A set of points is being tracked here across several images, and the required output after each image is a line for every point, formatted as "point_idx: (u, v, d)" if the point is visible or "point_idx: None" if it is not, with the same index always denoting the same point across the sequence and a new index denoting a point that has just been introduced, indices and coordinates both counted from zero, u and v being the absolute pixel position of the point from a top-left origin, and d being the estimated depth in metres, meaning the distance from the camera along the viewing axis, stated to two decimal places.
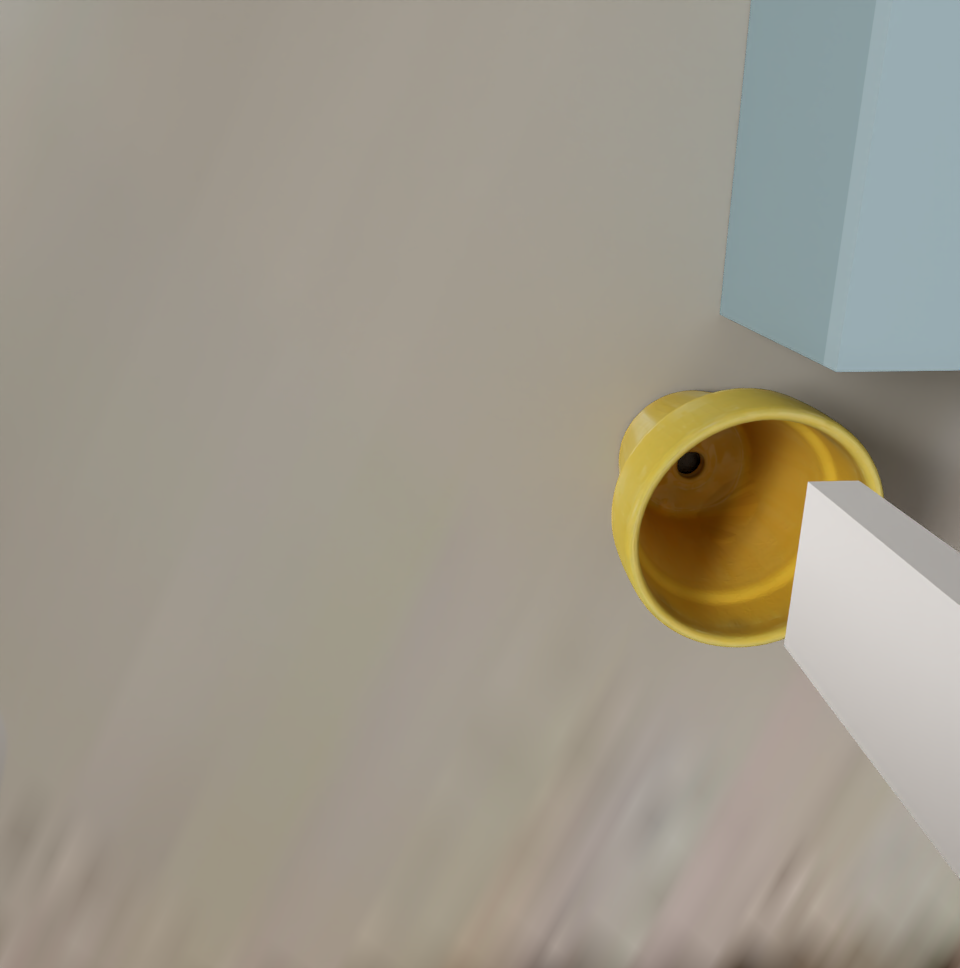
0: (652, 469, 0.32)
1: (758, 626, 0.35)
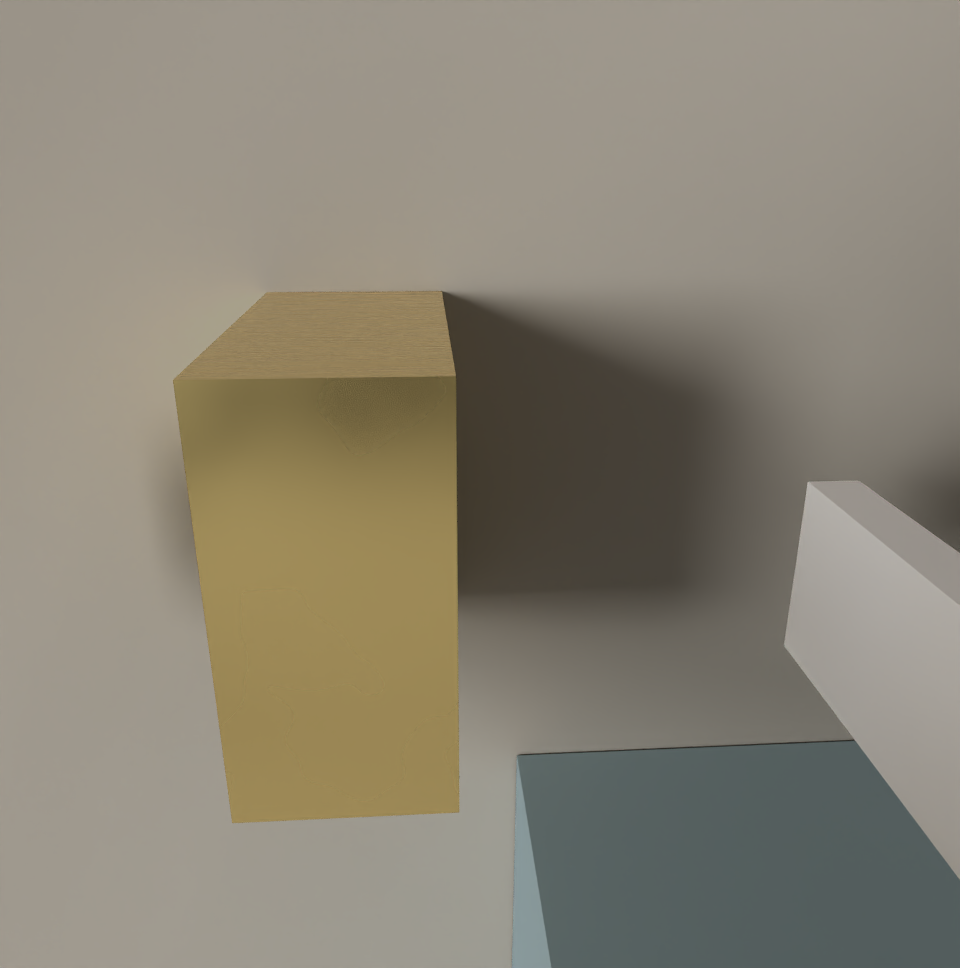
0: None
1: None
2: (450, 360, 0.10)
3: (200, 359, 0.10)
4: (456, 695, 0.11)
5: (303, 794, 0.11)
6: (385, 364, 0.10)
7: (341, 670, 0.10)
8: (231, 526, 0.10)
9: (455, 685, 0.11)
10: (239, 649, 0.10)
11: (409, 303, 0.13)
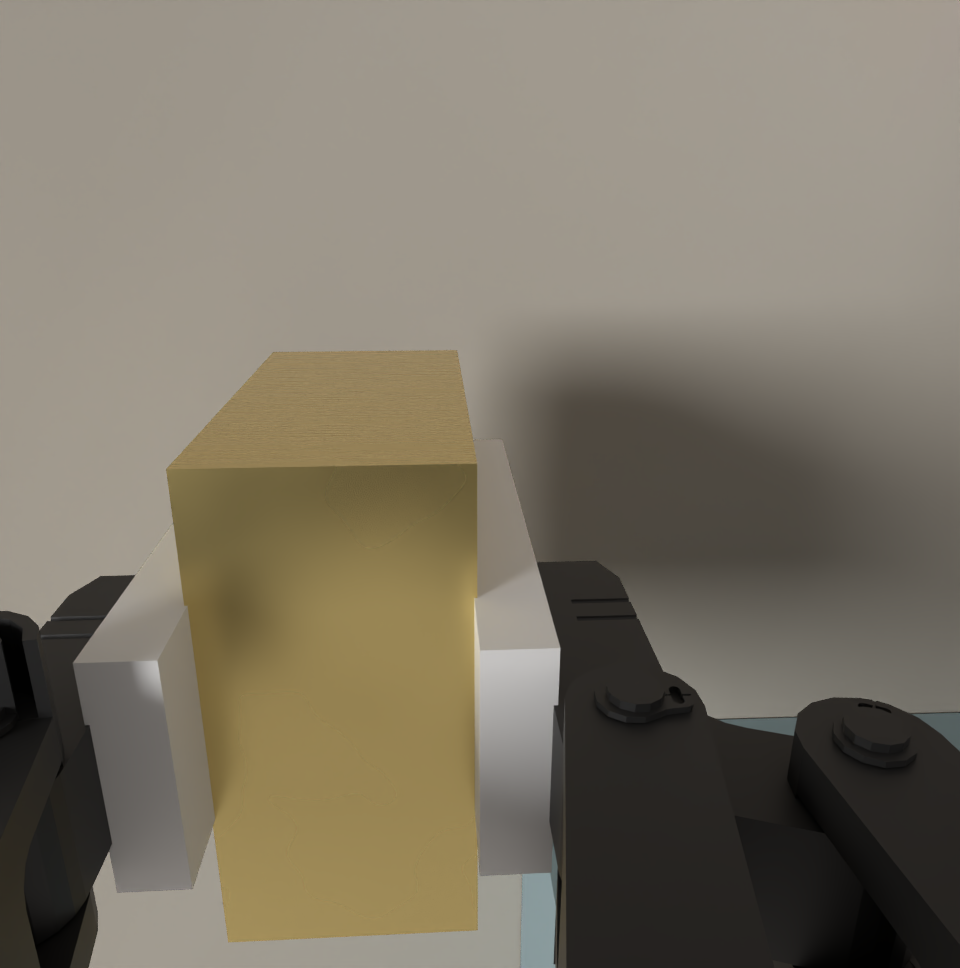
0: None
1: None
2: (470, 441, 0.09)
3: (198, 440, 0.09)
4: None
5: (306, 910, 0.10)
6: (399, 447, 0.09)
7: (349, 779, 0.09)
8: (229, 625, 0.09)
9: (474, 794, 0.10)
10: (237, 756, 0.09)
11: (423, 366, 0.13)
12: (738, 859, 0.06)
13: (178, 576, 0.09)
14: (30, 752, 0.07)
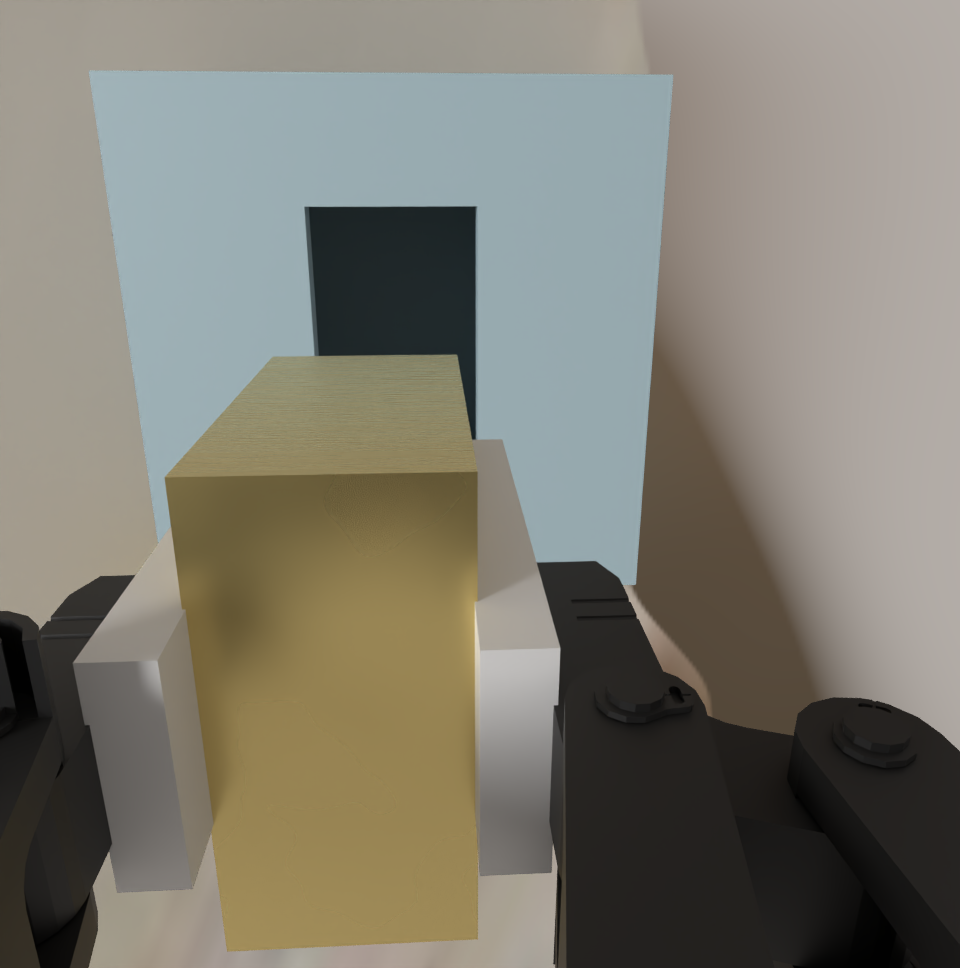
0: None
1: None
2: (470, 449, 0.09)
3: (196, 447, 0.09)
4: None
5: (305, 920, 0.10)
6: (399, 454, 0.09)
7: (348, 788, 0.09)
8: (227, 633, 0.09)
9: (474, 803, 0.10)
10: (236, 765, 0.09)
11: (423, 371, 0.13)
12: (738, 859, 0.06)
13: None
14: (30, 751, 0.07)
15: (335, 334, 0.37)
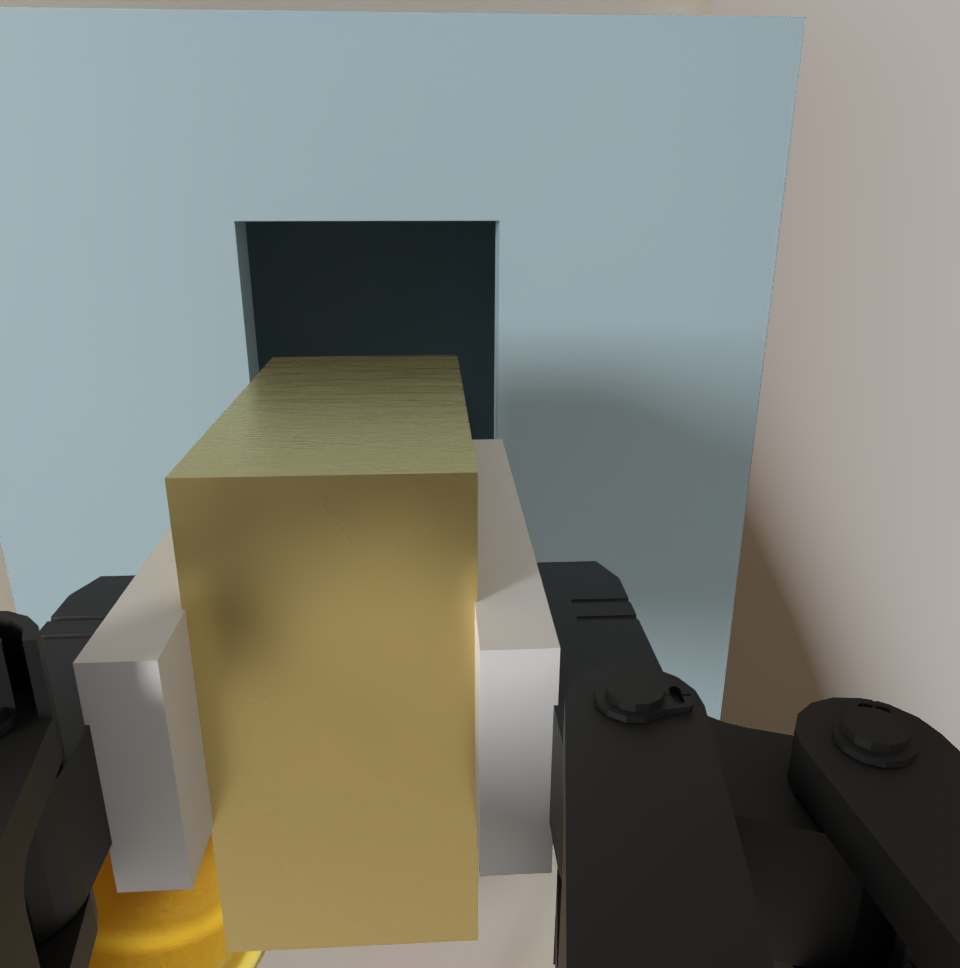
0: None
1: None
2: (470, 450, 0.09)
3: (197, 448, 0.09)
4: None
5: (305, 920, 0.10)
6: (399, 455, 0.09)
7: (349, 789, 0.09)
8: (228, 633, 0.09)
9: None
10: (236, 766, 0.09)
11: (423, 371, 0.13)
12: (738, 859, 0.06)
13: None
14: (31, 752, 0.07)
15: None
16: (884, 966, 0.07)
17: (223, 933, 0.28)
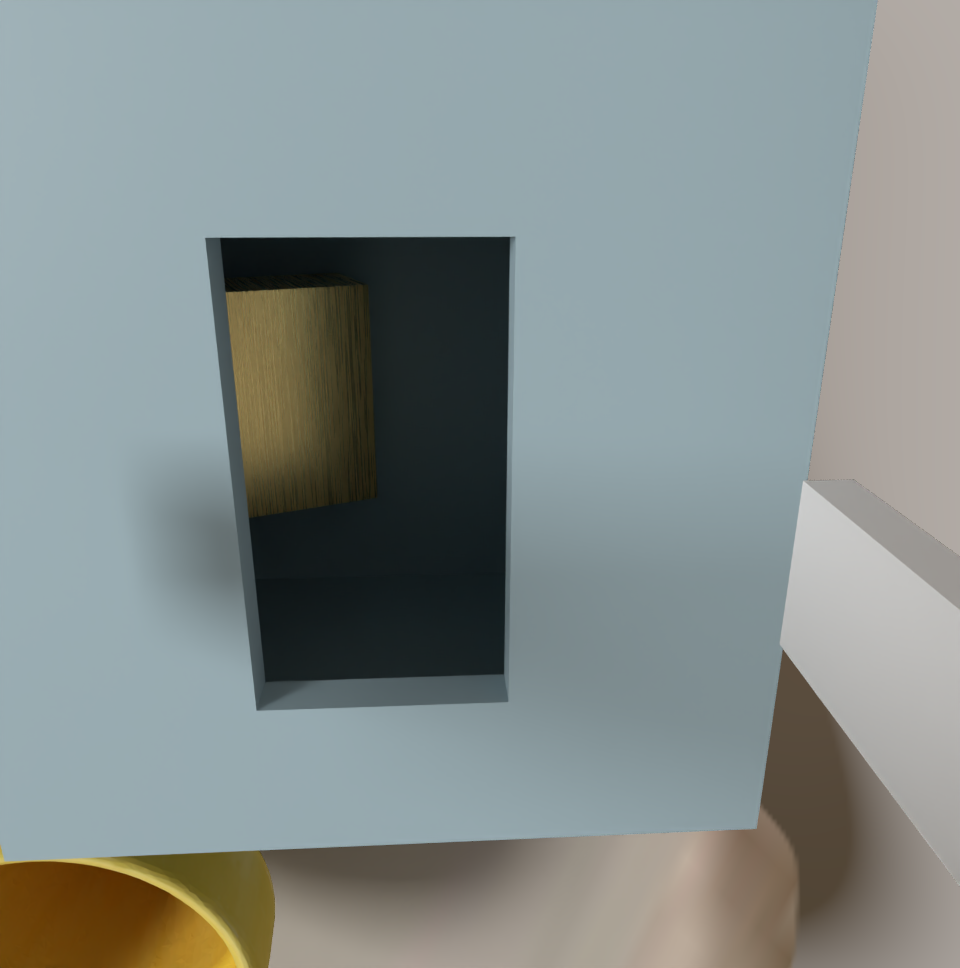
0: None
1: None
2: None
3: None
4: None
5: None
6: None
7: None
8: None
9: None
10: None
11: (315, 284, 0.22)
12: None
13: None
14: None
15: None
16: None
17: None
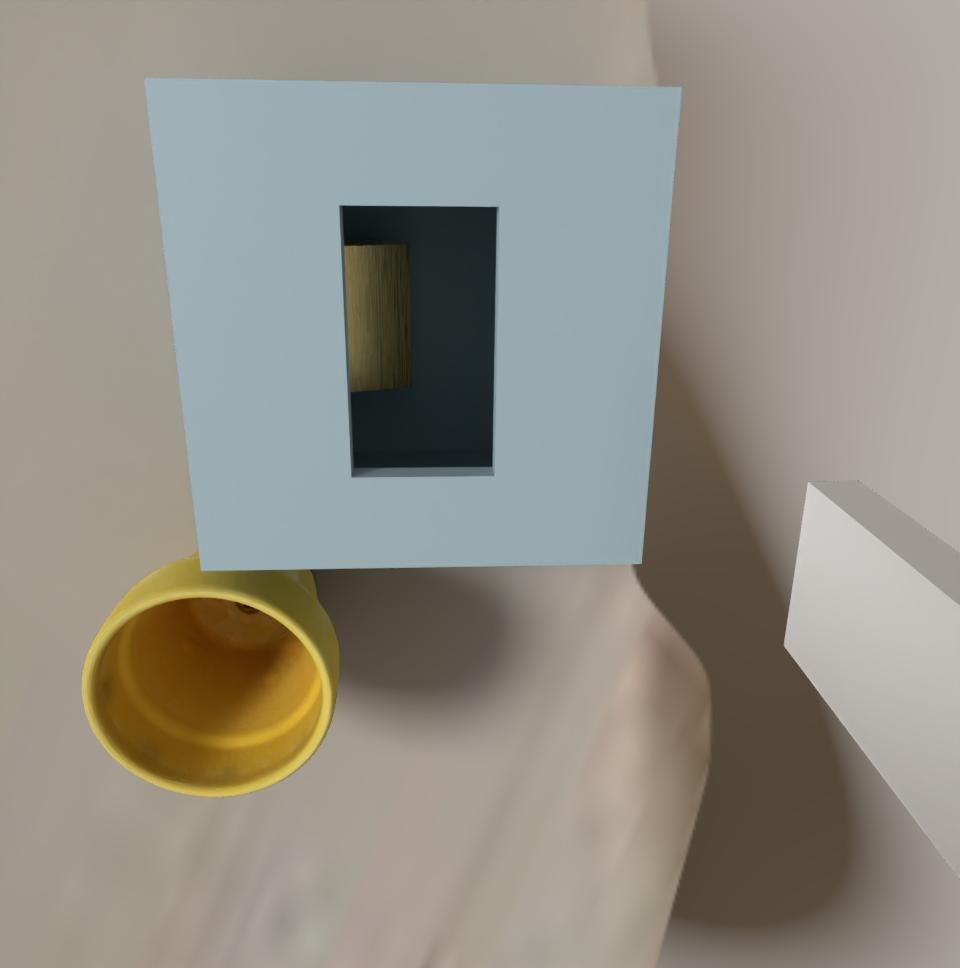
0: (94, 641, 0.34)
1: (243, 775, 0.37)
2: None
3: None
4: None
5: None
6: None
7: None
8: None
9: None
10: None
11: (375, 244, 0.35)
12: None
13: None
14: None
15: None
16: None
17: (293, 732, 0.38)
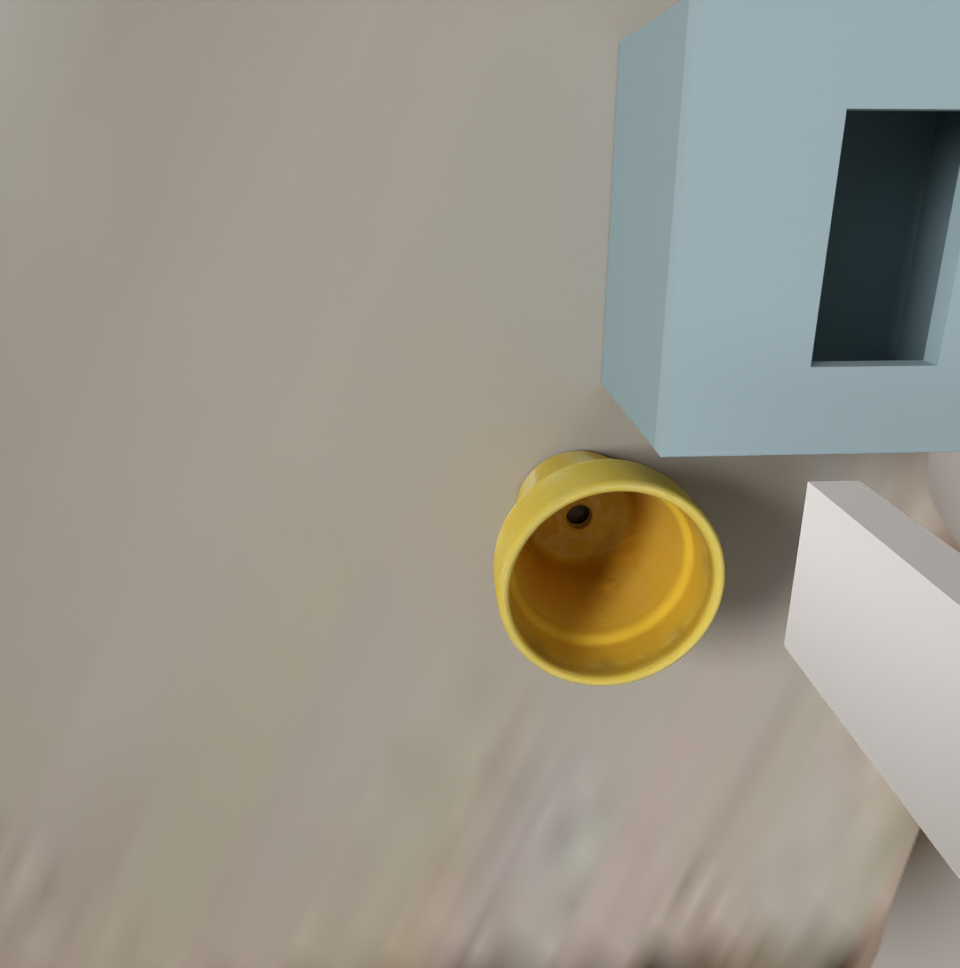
0: (518, 533, 0.37)
1: (623, 666, 0.40)
2: None
3: None
4: None
5: None
6: None
7: None
8: None
9: None
10: None
11: None
12: None
13: None
14: None
15: None
16: None
17: (658, 628, 0.41)
